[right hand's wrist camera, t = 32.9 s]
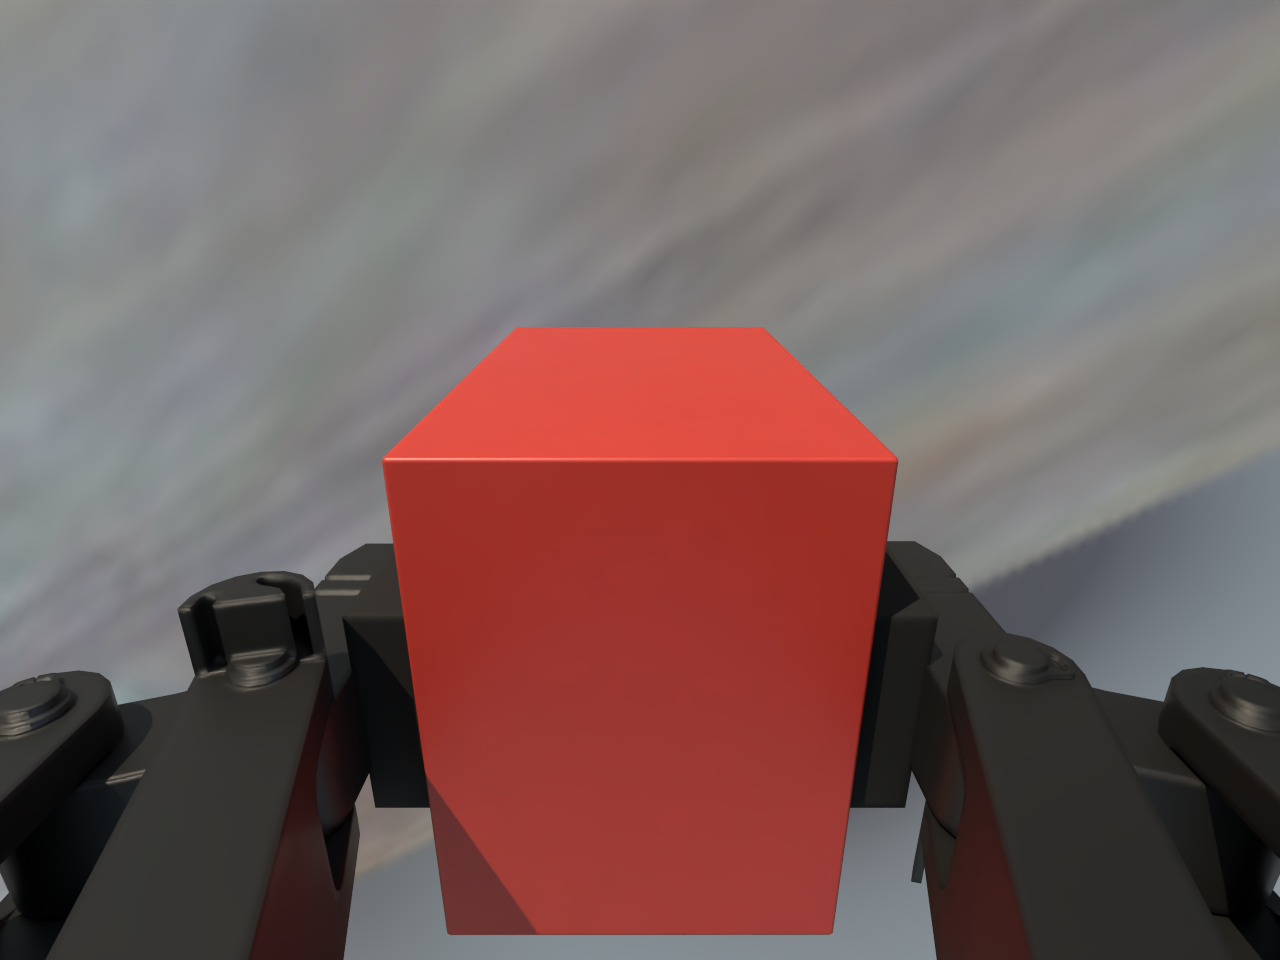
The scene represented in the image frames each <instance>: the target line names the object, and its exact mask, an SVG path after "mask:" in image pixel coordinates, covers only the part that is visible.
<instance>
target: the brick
mask: <svg viewBox="0 0 1280 960" xmlns="http://www.w3.org/2000/svg"><path fill="white" fill-rule="evenodd" d="M382 464H383V471H384V479H385V486H386V493H387V500H388V508H389V515H390V522H391V529H392V536H393V544H394V551H395V558H396V565H397V573H398V580H399V587H400V594H401V601H402V609H403V616H404V623H405V630H406V637H407V645H408V652H409V659H410V666H411V674H412V681H413V688H414V695H415V702H416V710H417V717H418V724H419V731H420V739H421V746H422V753H423V760H424V767H425V775H426V782H427V789H428V796H429V804H430V811H431V818H432V825H433V832H434V840H435V847H436V854H437V861H438V868H439V876H440V883H441V890H442V897H443V905H444V912H445V919H446V926H447V932H448V934H450V935H829V934H832V932H833V926H834V919H835V912H836V904H837V897H838V890H839V883H840V875H841V868H842V861H843V854H844V847H845V839H846V832H847V825H848V818H849V811H850V804H851V796H852V789H853V782H854V775H855V768H856V761H857V753H858V746H859V739H860V732H861V725H862V717H863V710H864V703H865V696H866V689H867V681H868V674H869V667H870V660H871V653H872V645H873V638H874V631H875V624H876V617H877V609H878V602H879V595H880V588H881V581H882V574H883V566H884V559H885V552H886V545H887V538H888V530H889V523H890V516H891V509H892V502H893V494H894V487H895V480H896V473H897V466H898V459H897V457H896V456H895V455H894V454H893V453H892V452H891V451H890V450H889V449H888V448H887V447H886V446H885V445H884V444H882V443H881V442H880V441H879V440H878V439H877V438H876V437H875V436H874V435H873V434H872V433H871V432H870V431H869V430H868V429H867V428H866V427H865V426H864V425H863V424H862V423H861V422H860V421H859V420H858V419H857V418H856V417H855V416H854V415H853V414H852V413H851V412H850V411H849V410H847V409H846V408H845V407H844V406H843V405H842V404H841V403H840V402H839V401H838V400H837V399H836V398H835V397H834V396H833V395H832V394H831V393H830V392H829V391H828V390H827V389H826V388H825V387H824V386H823V385H822V384H821V383H820V382H819V381H818V380H817V379H816V378H815V377H814V376H812V375H811V374H810V373H809V372H808V371H807V370H806V369H805V368H804V367H803V366H802V365H801V364H800V363H799V362H798V361H797V360H796V359H795V358H794V357H793V356H792V355H791V354H790V353H789V352H788V351H787V350H786V349H785V348H784V347H783V346H782V345H781V344H780V343H779V342H778V341H776V340H775V339H774V338H773V337H772V336H771V335H770V334H769V333H768V332H767V331H766V330H765V329H764V328H762V327H517V328H515V329H514V330H513V331H512V332H511V333H510V334H509V335H508V336H507V337H506V338H505V339H504V340H503V341H502V342H501V343H500V344H499V345H498V346H497V347H496V348H495V349H494V350H493V351H492V352H491V353H490V354H489V355H488V356H487V357H486V358H485V359H484V360H483V361H482V362H481V363H479V364H478V365H477V366H476V367H475V368H474V369H473V370H472V371H471V372H470V373H469V374H468V375H467V376H466V377H465V378H464V379H463V380H462V381H461V382H460V383H459V384H458V385H457V386H456V387H455V388H454V389H453V390H452V391H451V392H450V393H449V394H448V395H447V396H446V397H445V398H444V399H443V400H442V401H441V402H440V403H439V404H438V405H437V406H436V407H434V408H433V409H432V410H431V411H430V412H429V413H428V414H427V415H426V416H425V417H424V418H423V419H422V420H421V421H420V422H419V423H418V424H417V425H416V426H415V427H414V428H413V429H412V430H411V431H410V432H409V433H408V434H407V435H406V436H405V437H404V438H403V439H402V440H401V441H400V442H399V443H398V444H397V445H396V446H395V447H394V448H393V449H392V450H391V451H390V452H388V453H387V454H386V455H385V456H384V457H383V460H382Z"/></svg>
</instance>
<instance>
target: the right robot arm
mask: <svg viewBox="0 0 1280 960" xmlns="http://www.w3.org/2000/svg"><path fill="white" fill-rule="evenodd" d="M968 590H969V589H968V588H967V587H966V585H965V584H964V583H963V582H962V581H961V580H960V578H956V574H955V573H954V571H953V570H952V569H951V568H950V567H949V566H948V564H947V563H946V562H945V561H944V560H943V559H942V557H941V556H939V555H937V554H936V553H934V552H932V551H930V550H929V549H927V548H925V547H923V546H922V545H920V544H918V543H917V542H915V541H887V545H886V552H885V559H884V566H883V574H882V581H881V588H880V595H879V602H878V609H877V617H876V624H875V631H874V638H873V645H872V653H871V660H870V667H869V674H868V681H867V689H866V696H865V703H864V710H863V717H862V725H861V732H860V739H859V746H858V753H857V761H856V768H855V775H854V782H853V789H852V796H851V804H850V808H905V805H906V799H907V793H908V788H909V782H910V776H911V771H912V772H913V774H914V776H915V778H916V780H917V782H918V784H919V786H920V788H921V790H922V792H923V795H924V797H925V799H926V802H925V807H924V812H923V818H922V823H921V828H920V833H919V839H918V844H917V849H916V855H915V860H914V865H913V872H912V879H911V881H912V882H917V883H921V881H922V876H923V871H924V868H925V873H926V881H927V889H928V896H929V904H930V911H931V919H932V926H933V934H934V941H935V949H936V956H937V960H1280V897H1279V896H1278V895H1277V894H1276V893H1275V892H1274V891H1273V888H1274V886H1275V884H1276V882H1277V879H1278V877H1279V875H1280V687H1278V686H1276V685H1274V684H1271V683H1270V682H1268V681H1267V680H1265V679H1263V678H1260V677H1257V676H1254V675H1251V674H1247V675H1245V674H1244V673H1243V672H1238V671H1234V670H1222V669H1213V668H1204V667H1201V668H1194V669H1186V670H1182V671H1180V672H1179V673H1178V674H1176V675H1175V676H1174V677H1172V679H1171V682H1170V685H1169V688H1168V691H1167V694H1166V697H1165V700H1164V702H1162V701H1156V700H1151V699H1146V698H1140V697H1135V696H1130V695H1125V694H1120V693H1114V692H1109V691H1104V690H1100V689H1096V688H1092V687H1091V685H1090V683H1089V681H1088V680H1087V678H1086V676H1085V674H1084V673H1083V672H1082V671H1081V670H1080V668H1079V667H1078V666H1077V665H1076V664H1075V662H1074V661H1073V660H1071V659H1070V658H1068V657H1067V656H1065V655H1064V654H1062V653H1061V652H1059V651H1058V650H1056V649H1054V648H1053V647H1050V646H1048V645H1045V644H1043V643H1040V642H1038V641H1035V640H1033V639H1031V638H1027V637H1022V636H1018V635H1013V634H1009V633H1006V632H1005V631H1004V630H1003V629H1002V627H1001V626H1000V625H999V624H998V623H997V622H996V620H995V619H994V618H993V617H992V616H991V615H990V613H989V612H988V611H987V610H986V609H985V608H984V606H983V605H982V604H981V603H980V602H979V601H978V599H977V598H976V597H975V596H974V595H973V594H972V593H969V591H968ZM177 610H178V614H179V617H180V621H181V625H182V628H183V632H184V636H185V640H186V643H187V647H188V651H189V654H190V658H191V662H192V665H193V669H194V673H195V677H194V679H193V681H192V683H191V685H190V686H189V688H188V690H187V691H185V692H181V693H177V694H173V695H167V696H162V697H157V698H152V699H147V700H141V701H136V702H131V703H126V704H120V705H118V704H117V701H116V698H115V695H114V692H113V689H112V686H111V683H110V681H109V680H108V679H106V678H105V677H104V676H102V675H101V674H99V673H93V672H86V671H71V672H62V673H50V674H45V675H40V676H38V678H34V677H32V678H29V679H26V680H23V681H20V682H18V683H16V684H14V685H13V686H11V687H9V688H7V689H4V690H2V691H0V873H1V876H2V878H3V880H4V882H5V885H6V887H7V889H8V891H9V893H8V894H7V895H6V897H5V898H4V899H3V900H2V901H1V902H0V960H343V958H344V951H345V943H346V935H347V928H348V921H349V913H350V905H351V898H352V890H353V883H354V875H355V868H356V860H357V852H358V845H359V837H360V831H359V824H358V818H357V812H356V807H355V801H356V799H357V797H358V795H359V793H360V791H361V789H362V787H363V785H364V783H365V780H366V778H367V776H368V774H370V779H371V785H372V791H373V796H374V802H375V808H430V804H429V796H428V789H427V782H426V775H425V767H424V760H423V753H422V746H421V739H420V731H419V724H418V717H417V710H416V702H415V695H414V688H413V681H412V674H411V666H410V659H409V652H408V645H407V637H406V630H405V623H404V616H403V609H402V601H401V594H400V587H399V580H398V573H397V565H396V558H395V551H394V544H365V545H363V546H361V547H360V548H358V549H356V550H355V551H353V552H351V553H349V554H348V555H346V556H344V557H343V558H341V559H340V560H339V561H338V562H337V563H336V564H335V566H334V567H333V568H332V569H331V570H330V571H329V573H328V574H327V575H326V576H325V580H322V581H321V582H320V583H319V584H318V586H317V587H316V588H315V589H314V585H313V582H312V581H311V580H309V579H308V578H306V577H305V576H304V575H301V574H296V573H291V572H286V571H275V572H258V573H253V574H248V575H242V576H237V577H234V578H231V579H228V580H225V581H222V582H219V583H216V584H213V585H211V586H209V587H207V588H205V589H203V590H201V591H200V592H198V593H196V594H194V595H192V596H191V597H189V598H188V599H187V600H186V601H185V602H184V603H183V604H182V605H181V606H180V607H179V608H178V609H177Z"/></svg>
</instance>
